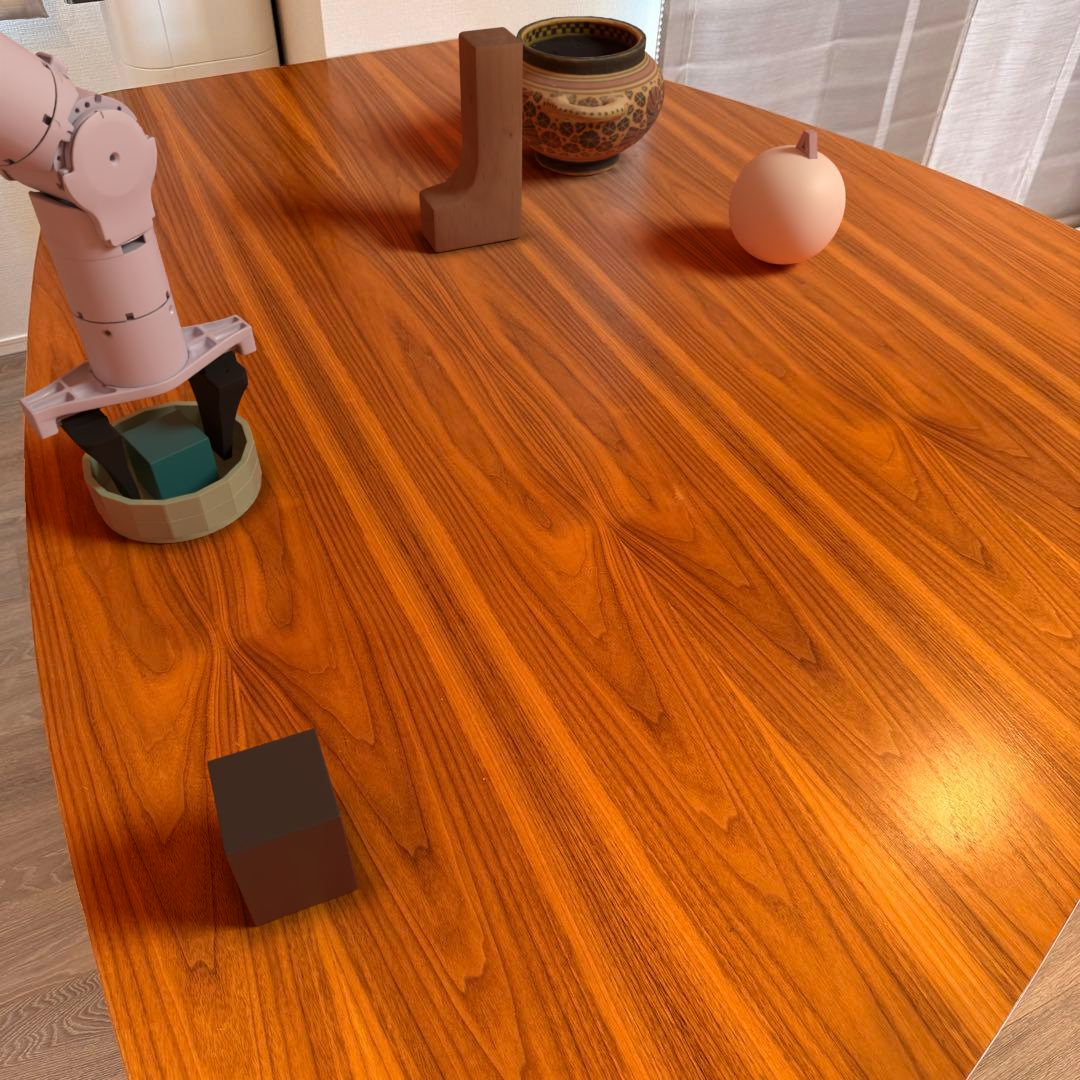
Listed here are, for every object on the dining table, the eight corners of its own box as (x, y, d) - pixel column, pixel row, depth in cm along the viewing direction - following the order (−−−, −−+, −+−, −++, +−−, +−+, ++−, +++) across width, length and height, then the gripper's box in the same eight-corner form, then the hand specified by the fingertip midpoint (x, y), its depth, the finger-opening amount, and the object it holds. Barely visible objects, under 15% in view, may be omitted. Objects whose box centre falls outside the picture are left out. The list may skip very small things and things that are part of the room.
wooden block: (435, 254, 92) (423, 53, 80) (420, 233, 95) (406, 36, 83) (522, 238, 95) (524, 41, 82) (505, 218, 98) (505, 25, 85)
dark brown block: (255, 927, 46) (225, 855, 41) (237, 837, 49) (206, 760, 44) (359, 889, 47) (341, 816, 42) (334, 804, 51) (314, 727, 46)
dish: (105, 561, 63) (89, 522, 60) (92, 459, 70) (77, 420, 68) (276, 519, 66) (267, 480, 64) (246, 425, 73) (237, 387, 71)
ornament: (849, 255, 94) (882, 130, 85) (793, 295, 88) (823, 165, 80) (759, 221, 99) (782, 99, 90) (701, 257, 93) (719, 130, 85)
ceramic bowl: (517, 138, 119) (484, 7, 109) (661, 102, 116) (640, -35, 106) (518, 234, 102) (478, 89, 91) (687, 194, 99) (665, 41, 89)
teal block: (166, 512, 66) (149, 464, 63) (137, 481, 68) (120, 433, 65) (222, 485, 68) (208, 437, 65) (192, 456, 70) (178, 408, 67)
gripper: (199, 235, 63) (240, 405, 73) (-31, 313, 56) (48, 490, 66) (255, 277, 59) (291, 450, 69) (18, 366, 52) (94, 545, 62)
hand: (176, 473), depth 67 cm, fingers open, 6 cm apart
